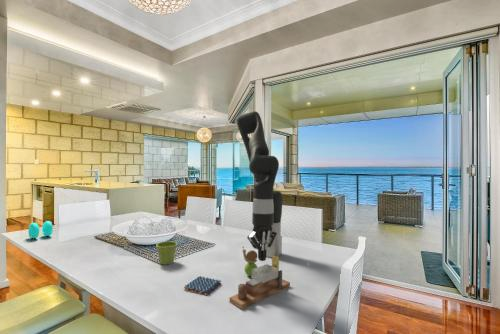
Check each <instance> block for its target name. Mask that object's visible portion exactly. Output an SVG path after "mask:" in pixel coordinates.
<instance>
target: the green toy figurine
mask: <svg viewBox="0 0 500 334" xmlns="http://www.w3.org/2000/svg"><path fill="white" fill-rule="evenodd" d="M244 248H245V246H242V254H243V259H244V261H245V262H247V263H246V264H245V265H244V266H245V267H244V272H245V274H246V275H247V276H248V277H251V275H252V269H255V268H258V265H257V264H256V262H258V260H257V259H258V252H256V251H255V250H249V251H248V252H247V250H246V249H244Z"/></svg>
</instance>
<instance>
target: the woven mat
mask: <svg viewBox="0 0 500 334" xmlns="http://www.w3.org/2000/svg"><path fill="white" fill-rule="evenodd" d="M221 282H222V280H219V279H215V278H210V277H205V276H201V275H200V276H197V277H196V278H195V279H194V280H192V281H190V282H189V283H187V285H186V284H185V285H184V286H183V291H187V292H189V293H190V292H192V293H195V294H199V295H202V296H203V295H205V296H209V294H210V293H212V292H213V291H214V290H216V288H218V287H219V286H220V285H222V283H221Z"/></svg>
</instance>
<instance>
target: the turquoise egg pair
mask: <svg viewBox="0 0 500 334" xmlns="http://www.w3.org/2000/svg"><path fill="white" fill-rule="evenodd" d="M52 223H53V222H52V221H50V220H45V222H43V224H42V227H41V231H42V235H43V236H44V235H45V236H44V237H46V236H49V237H51V236H52V235H53V231H54V226H53V224H52ZM39 235H40V226H39V225H38V223H36V222H31V223H30V224H29V226H28V237H29V239H31V238H36V239H37V238H38V237H39ZM50 235H51V236H50Z"/></svg>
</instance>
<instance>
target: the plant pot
mask: <svg viewBox="0 0 500 334" xmlns="http://www.w3.org/2000/svg"><path fill="white" fill-rule="evenodd" d="M177 245H178V242H177V241H173V240H172V241H170V240H169V241H161V242H159V243H158V242H157V243H156V245H155V246H156V249H157V252H158V258H159V259H158V260H159V265H163V266H164V265H171V264H173V263H174V261H175V254H176V248H177Z"/></svg>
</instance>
